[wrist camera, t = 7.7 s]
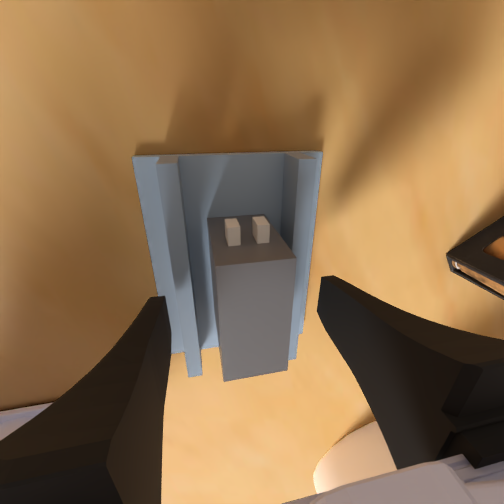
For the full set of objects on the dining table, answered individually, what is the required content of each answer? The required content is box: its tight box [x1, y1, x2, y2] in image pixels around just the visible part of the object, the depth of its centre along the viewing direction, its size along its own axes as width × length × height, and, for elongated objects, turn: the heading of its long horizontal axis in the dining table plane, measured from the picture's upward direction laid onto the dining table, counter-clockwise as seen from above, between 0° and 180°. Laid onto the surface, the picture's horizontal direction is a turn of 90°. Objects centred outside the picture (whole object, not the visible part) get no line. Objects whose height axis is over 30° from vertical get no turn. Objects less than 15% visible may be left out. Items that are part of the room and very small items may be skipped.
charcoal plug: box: [207, 214, 297, 382], centre depth 13 cm, size 3×7×5 cm, turn 0°
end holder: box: [132, 151, 323, 377], centre depth 15 cm, size 9×12×3 cm
